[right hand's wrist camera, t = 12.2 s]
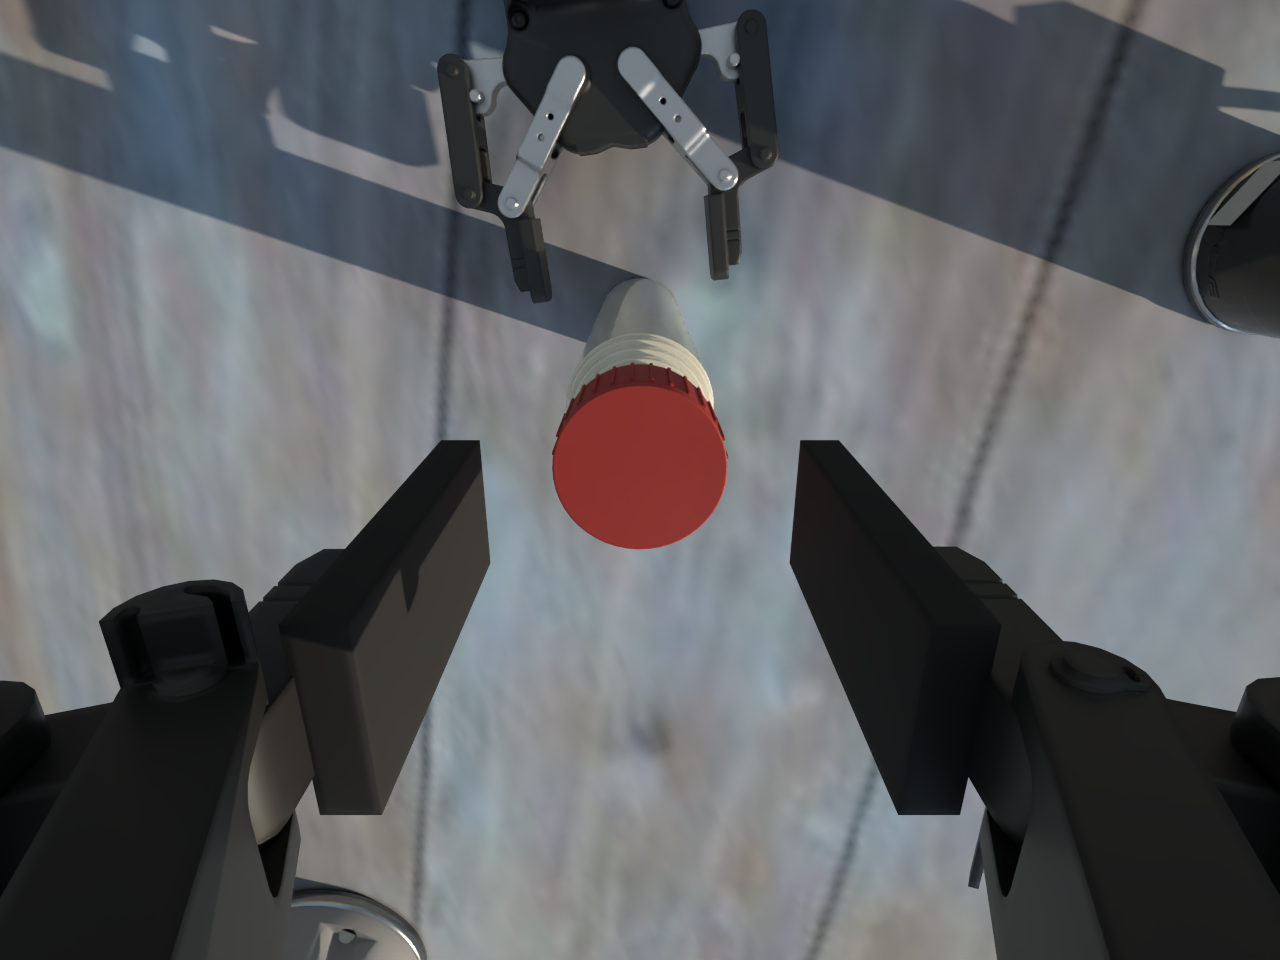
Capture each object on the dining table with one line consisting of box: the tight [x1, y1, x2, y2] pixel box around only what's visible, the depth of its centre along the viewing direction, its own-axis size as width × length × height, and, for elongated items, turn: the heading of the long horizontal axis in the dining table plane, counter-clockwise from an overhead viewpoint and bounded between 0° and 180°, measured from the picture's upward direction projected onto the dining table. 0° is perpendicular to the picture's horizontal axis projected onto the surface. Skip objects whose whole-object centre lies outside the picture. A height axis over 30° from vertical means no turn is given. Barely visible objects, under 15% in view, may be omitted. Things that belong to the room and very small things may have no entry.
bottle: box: [566, 278, 713, 409], centre depth 27 cm, size 4×4×24 cm
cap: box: [552, 363, 728, 549], centre depth 17 cm, size 4×4×2 cm
